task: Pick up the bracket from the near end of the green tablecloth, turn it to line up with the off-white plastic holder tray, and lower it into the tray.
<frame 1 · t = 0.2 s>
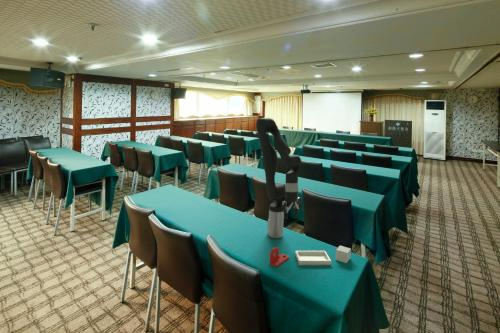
hand: (291, 216, 163), 17 cm above the table, tool pointing down, fingers open, 8 cm apart
holder tray: (312, 259, 149), on the table
white cube: (342, 259, 151), on the table
bracket: (279, 261, 148), on the table
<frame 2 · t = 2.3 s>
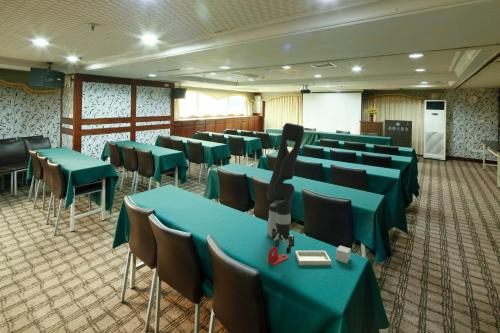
hand: (282, 250, 146), 6 cm above the table, tool pointing down, fingers open, 8 cm apart
bracket: (278, 261, 149), on the table, touching gripper
everything else where it was.
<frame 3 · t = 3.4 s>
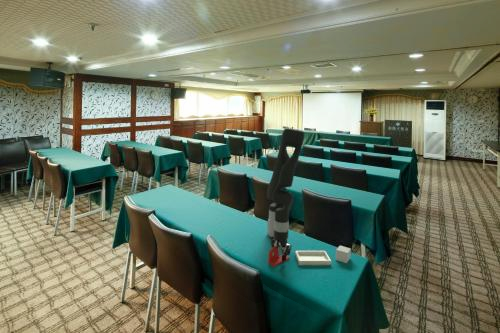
hand: (280, 258, 147), 1 cm above the table, tool pointing down, fingers open, 5 cm apart
nothing on the table moved.
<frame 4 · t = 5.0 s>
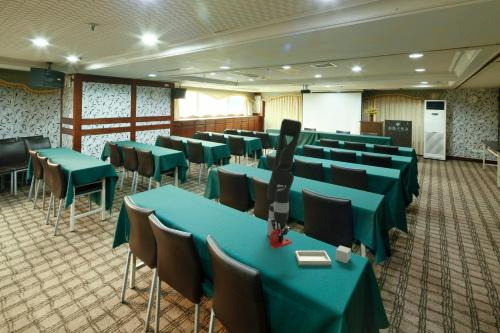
hand: (279, 240, 146), 11 cm above the table, tool pointing down, fingers closed on bracket
bracket: (281, 244, 144), point 10 cm above the table, touching gripper
everything else where it was.
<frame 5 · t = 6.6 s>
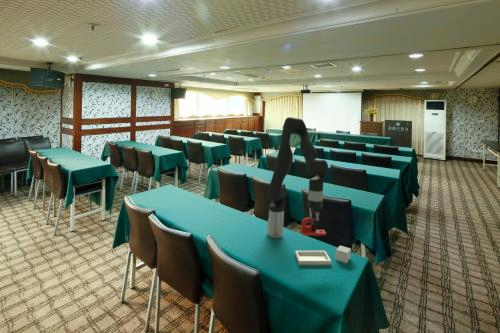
hand: (313, 230, 146), 17 cm above the table, tool pointing down, fingers closed on bracket
bracket: (313, 233, 144), point 16 cm above the table, touching gripper
everything else where it was.
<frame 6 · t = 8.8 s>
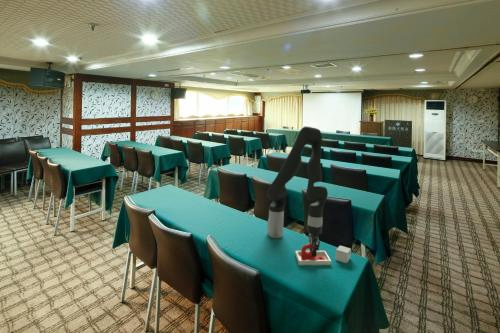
hand: (312, 253, 149), 4 cm above the table, tool pointing down, fingers open, 4 cm apart
bracket: (313, 260, 148), point 1 cm above the table, touching holder tray
everything else where it was.
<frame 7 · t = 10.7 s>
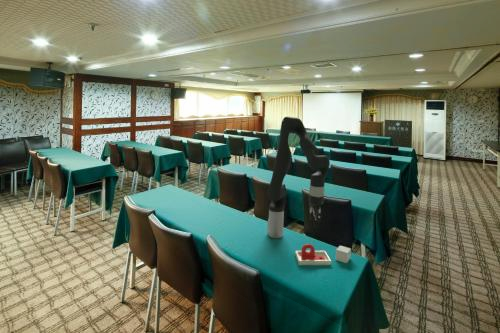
hand: (314, 223, 146), 20 cm above the table, tool pointing down, fingers open, 8 cm apart
nothing on the table moved.
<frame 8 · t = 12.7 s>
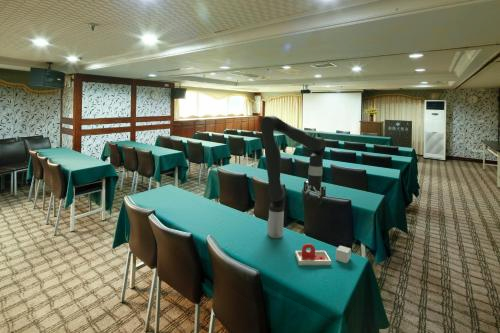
hand: (313, 201, 157), 28 cm above the table, tool pointing down, fingers open, 8 cm apart
nothing on the table moved.
at the end: bracket 1.1 cm off-centre on the holder tray, point 0.6 cm above the holder tray's base; bracket tilted 0°; the gripper is holding nothing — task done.
